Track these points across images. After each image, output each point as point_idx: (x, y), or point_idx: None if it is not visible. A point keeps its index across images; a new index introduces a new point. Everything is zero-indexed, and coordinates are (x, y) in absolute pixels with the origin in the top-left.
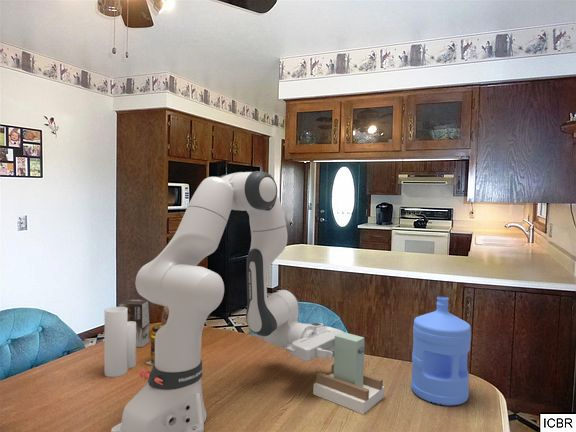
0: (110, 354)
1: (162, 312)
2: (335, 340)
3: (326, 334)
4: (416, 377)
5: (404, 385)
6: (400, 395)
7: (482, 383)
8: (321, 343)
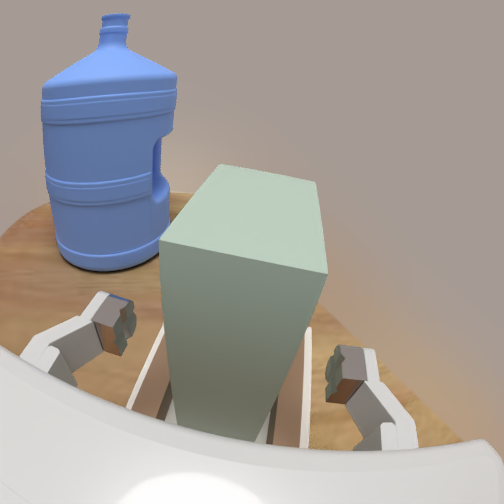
0: None
1: None
2: (315, 302)
3: (22, 477)
4: (136, 226)
5: (88, 286)
6: (148, 292)
7: None
8: (338, 453)
